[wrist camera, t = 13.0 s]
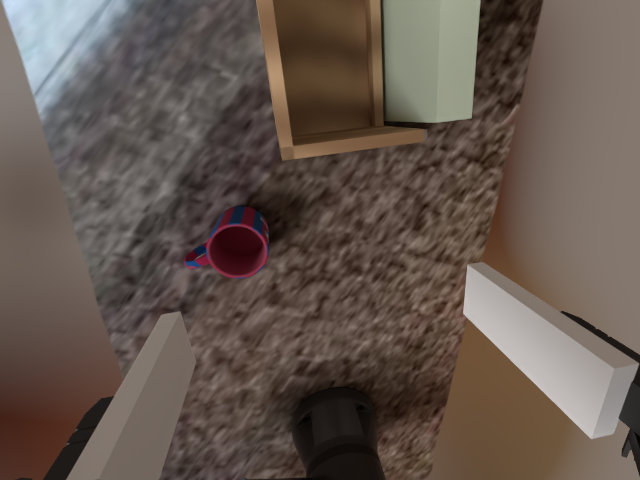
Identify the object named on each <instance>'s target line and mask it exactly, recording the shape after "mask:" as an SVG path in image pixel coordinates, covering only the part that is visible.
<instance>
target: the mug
mask: <svg viewBox="0 0 640 480" xmlns="http://www.w3.org/2000/svg"><path fill="white" fill-rule="evenodd" d="M205 252H206V254H205V255H204V256H202V257H200V258H198V259H196V258H197V257H198V256H200V255H201V254H203V253H205ZM268 252H269V227H268V223H267V221H266V219H265V218H264V216H263V215H262V214H261V213H260V212H258V211H257V210H255V209H253V208H250V207H245V206H238V207H233V208H231V209H228V210H227V211H225V212H224V213H223V214H222V215H221V216H220V218H219V220H218V221H217V223H216V225H215V227H214V229H213V231H212V233H211V235H210V237H209V239H208V241H207V243H205V244H203V245H201V246H199V247H197V248H195V249H194V250H192V251H191V252H190V253H189V254H188V255H187V256H186V258H185V259H184V263H185V266H186V267H187V268H188V269H196V268H199V267H202V266H204V265H207V264H209V263H210V264H211V266H212V267H213V268H214V269H215V270H216V271H217V272H219V273H220V274H222V275H224V276H227V277H230V278H246V277H250V276H252V275H254V274H256V273H257V272H259V271H260V270H261V269H262V268H263V266H264V265H265V263H266V261H267V258H268ZM194 259H195V260H194Z"/></svg>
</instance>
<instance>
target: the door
mask: <svg viewBox="0 0 640 480" xmlns="http://www.w3.org/2000/svg"><path fill="white" fill-rule="evenodd" d="M380 13H381V48H382V83H383V119H384V121H399V122H429V123H438V122H446V121H454V120H461V119H469V118H472V105H473V92H474V79H475V66H476V52H477V39H478V26H479V13H480V0H380Z"/></svg>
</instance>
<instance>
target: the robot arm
mask: <svg viewBox="0 0 640 480" xmlns="http://www.w3.org/2000/svg"><path fill="white" fill-rule="evenodd" d="M463 314H464V315H465V316H466V317H467V318H468V319H469V320H470V321H472V323H473V324H474V325H475V326H476V327H477V328H478V329H480V330H481V331H482V332H483V333H484V334H485V335H486V336H487V337H488V338H489V339H490V340H491V341H492V342H493V343H494V344H495V345H496V346H497V347H498V348H499V349H500V350H501V351H502V352H503V353H504V354H505V355H506V356H507V357H508V358H509V359H510V360H511V361H512V362H513V363H514V364H515V365H516V366H517V367H518V368H519V369H520V370H521V371H522V372H523V373H524V374H525V375H526V376H528V378H529V379H530V380H532V381H533V382H534V383H535V384H536V385H537V386H538V387H539V388H540V389H541V390H542V391H543V392H544V393H545V394H546V395H547V396H548V397H549V398H550V399H551V400H552V401H553V402H554V403H555V404H556V405H557V406H558V407H559V408H560V409H561V410H562V411H563V412H564V413H565V414H566V415H567V416H568V417H569V418H570V419H571V420H573V422H574V423H575V424H576V425H577V426H578V427H580V428H581V429H582V430H583V431H584V432H585V433H586V434H587V435H588V436H589V437H590V438H591V439H594V438H598V437H602V436H607V435H611V434H614V432H615V429H616V426H617V424H618V421H619V419H620V420H621V421H622V422H623V423H625V424H626V425H627V426H628V427H629V428H630V430H629V433H628V435H627V438H626V441H625V443H624V446H623V448H622V456H623V457H627V456H628V453H629V451H630V450H632V452H633V455H634V460H635V462H636V465H637V469H638V472H639V475H640V355H639V354H637V353H636V352H634V351H633V350H631V349H629V348H628V347H626V346H625V345H623V344H621V343H619V342H618V341H617V340H615V339H613V338H612V337H608V336H607V334H605V333H604V332H602V331H601V330H599V329H596V328H595V327H594V326H593V325H591V324H589V323H588V322H586V321H584V320H583V319H581V318H579V317H576V316H574V315H572V314H569V313H567V312H564V311H561V312H559V311H557V310H556V309H554V308H553V307H551V306H550V305H548V304H546V303H545V302H544V301H542V300H540V299H539V298H537V297H536V296H534V295H533V294H531V293H530V292H528V291H526V290H525V289H523V288H522V287H520V286H519V285H517V284H516V283H514V282H513V281H511V280H509V279H508V278H506V277H505V276H503V275H502V274H500V273H499V272H497V271H496V270H494V269H493V268H491V267H489V266H488V265H486V264H485V263H483V262H481V263H474V264H468V266H467V277H466V289H465V300H464V311H463ZM195 364H196V360H195V357H194V354H193V351H192V347H191V344H190V341H189V338H188V335H187V332H186V328H185V325H184V322H183V319H182V316H181V312H175V313H169V314H163V315H161V317H160V318H159V320H158V322H157V323H156V325H155V327H154V329H153V330H152V332H151V334H150V336H149V337H148V339H147V341H146V343H145V344H144V346H143V348H142V349H141V351H140V353H139V355H138V356H137V358H136V360H135V362H134V363H133V365H132V367H131V368H130V370H129V372H128V374H127V375H126V377H125V379H124V381H123V382H122V384H121V386H120V388H119V389H118V391H117V393H116V394H115V396H112V397H107V398H102V399H100V400H99V401H98V402H97V403H96V404H95V405H94V406H93V407H92V408H91V409H90V410H89V411H88V412H87V413H86V414H85V415H84V417H83V418H82V420H81V421H80V423H79V424H78V426H77V428H76V430H75V433H73V434H72V436H71V437H70V438H69V440H68V442H67V443H66V447H64V448H63V450H62V451H61V453H60V454H59V456H58V457H57V459H56V460H55V462H54V463H53V465H52V466H51V468H50V470H49V471H48V473H47V475H46V476H45V477H44V479H43V480H159V478H160V475H161V471H162V468H163V465H164V462H165V459H166V456H167V452H168V449H169V446H170V443H171V440H172V437H173V434H174V430H175V427H176V424H177V421H178V418H179V415H180V411H181V408H182V405H183V402H184V399H185V396H186V392H187V389H188V386H189V383H190V380H191V377H192V373H193V370H194V367H195ZM292 437H293V441H294V444H295V447H296V449H297V451H298V454H299V456H300V459H301V461H302V463H303V466H304V468H305V470H306V477H307V478H282V479H246V478H243V479H241V480H386V478H385V475H384V472H383V469H382V466H381V463H380V460H379V456H378V450H377V417H376V414H375V411H374V408H373V405H372V403H371V401H370V400H369V398H368V397H367V396H366V395H364V394H363V393H361V392H359V391H357V390H353V389H349V388H333V389H328V390H324V391H321V392H318V393H316V394H314V395H312V396H310V397H309V398H307V399H306V400H305V401H303V402H302V403H301V404H300V405H299V407H298V408H297V409H296V411H295V413H294V415H293V418H292ZM17 480H32V479H29V478H20V479H17Z"/></svg>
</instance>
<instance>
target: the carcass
mask: <svg viewBox="0 0 640 480" xmlns="http://www.w3.org/2000/svg"><path fill="white" fill-rule="evenodd" d="M256 3H257V9H258V15H259V22H260V28H261V34H262V41H263V47H264V53H265V60H266V66H267V72H268V79H269V85H270V91H271V98H272V104H273V110H274V117H275V123H276V130H277V136H278V142H279V148H280V152H281V156H282V160H290V159H298V158H305V157H312V156H320V155H327V154H335V153H342V152H350V151H357V150H364V149H372V148H379V147H387V146H394V145H402V144H409V143H416V142H424V139H426V138H427V129H418V128H405V127H392V126H384V119H383V83H382V48H381V13H380V0H256Z"/></svg>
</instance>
